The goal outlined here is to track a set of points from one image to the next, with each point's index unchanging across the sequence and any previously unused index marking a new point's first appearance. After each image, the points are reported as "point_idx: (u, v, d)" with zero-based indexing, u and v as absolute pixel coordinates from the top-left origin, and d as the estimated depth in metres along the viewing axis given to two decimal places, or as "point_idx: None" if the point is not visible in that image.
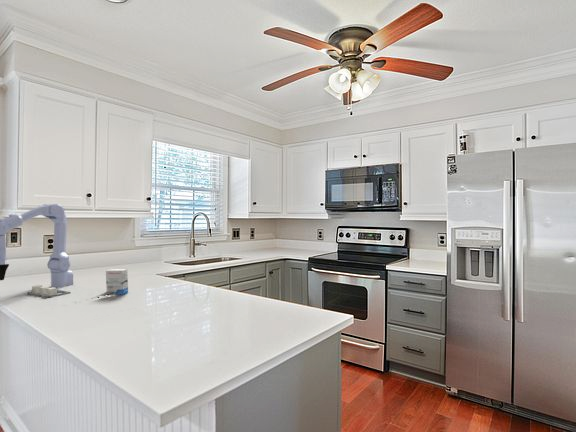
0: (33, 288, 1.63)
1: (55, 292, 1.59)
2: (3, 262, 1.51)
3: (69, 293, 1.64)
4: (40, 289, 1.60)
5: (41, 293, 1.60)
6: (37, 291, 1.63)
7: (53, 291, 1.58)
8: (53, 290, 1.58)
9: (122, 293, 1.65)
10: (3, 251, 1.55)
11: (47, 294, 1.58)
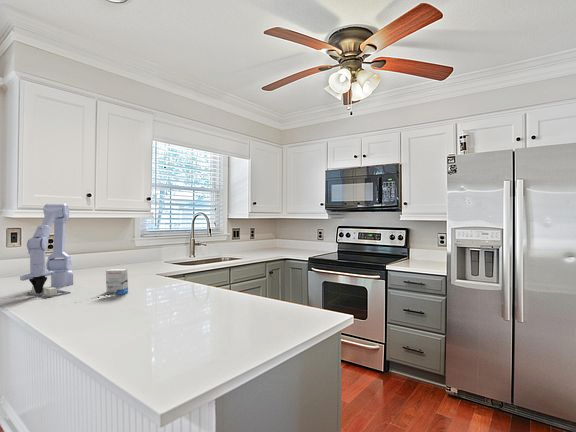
0: (33, 288, 1.63)
1: (55, 292, 1.59)
2: (22, 278, 1.52)
3: (69, 293, 1.64)
4: None
5: (42, 293, 1.61)
6: None
7: (53, 291, 1.58)
8: (53, 290, 1.58)
9: (122, 293, 1.65)
10: (35, 267, 1.57)
11: (47, 294, 1.58)
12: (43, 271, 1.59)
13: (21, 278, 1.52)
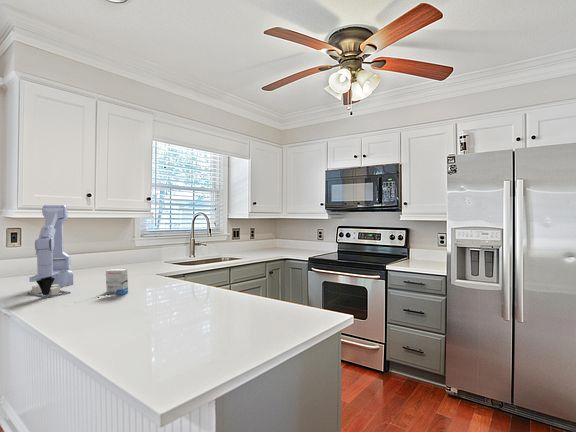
0: (33, 288, 1.63)
1: (57, 292, 1.60)
2: (32, 279, 1.49)
3: (69, 293, 1.64)
4: (51, 287, 1.64)
5: None
6: (37, 291, 1.63)
7: (55, 290, 1.59)
8: (55, 290, 1.59)
9: (122, 293, 1.65)
10: (43, 267, 1.54)
11: (49, 294, 1.58)
12: (51, 272, 1.57)
13: (31, 279, 1.49)
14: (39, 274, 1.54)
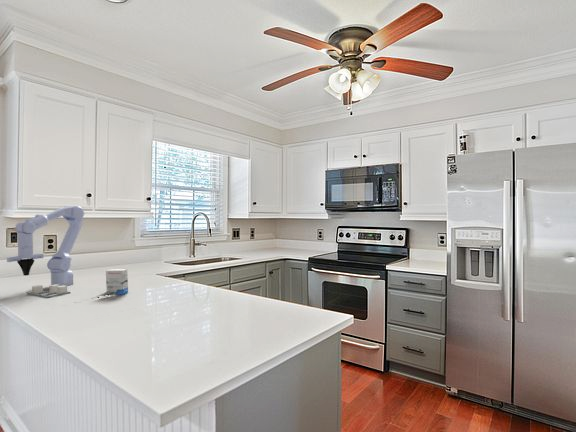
0: (33, 288, 1.63)
1: (65, 290, 1.63)
2: (8, 260, 1.58)
3: (69, 293, 1.64)
4: (51, 287, 1.64)
5: (52, 291, 1.64)
6: (37, 291, 1.63)
7: (64, 289, 1.62)
8: (63, 288, 1.62)
9: (122, 293, 1.65)
10: (21, 249, 1.62)
11: (58, 292, 1.62)
12: (30, 254, 1.64)
13: (7, 260, 1.59)
14: (18, 255, 1.63)
